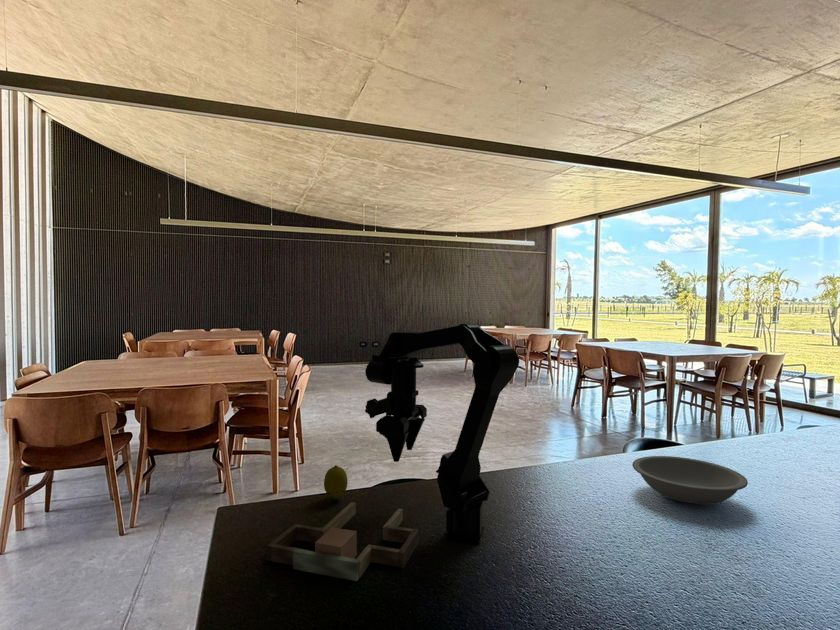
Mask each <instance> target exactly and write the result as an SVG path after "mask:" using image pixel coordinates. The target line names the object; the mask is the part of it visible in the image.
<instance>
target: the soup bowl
mask: <svg viewBox="0 0 840 630" xmlns="http://www.w3.org/2000/svg"><path fill="white" fill-rule="evenodd" d="M632 468H633V470H635V472H637V473H638V474H640V475H641V477H642V479H643V480H644V481H645V482H646V484H647V485H648V486H649V487H650V488H651V489H653V490H654V491H655V492H657V493H658V494H660V495H662V496H664V497H666V498H669V499H672V500H674V501H679V502H683V503H688V504H694V505H713V504H718V503H722V502H725V501H726V500H729V499H730V498H733V496H734V495H735V494H736V493H737V492H738V491H739V490H742V489H745V488H746V487H747V486H748V484H749V482H748V479H747V477H745V476H744V475H743V474H741V473H740V472H738V471H736V470H734V469H731V468H728V467H726V466H723V465H720V464H717V463H714V462H709V461H706V460H700V459H694V458H689V457H684V456H683V457H681V456H674V455H673V456H670V455H652V456H643V457H638V458H636V459H635V460H633V461H632Z"/></svg>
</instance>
